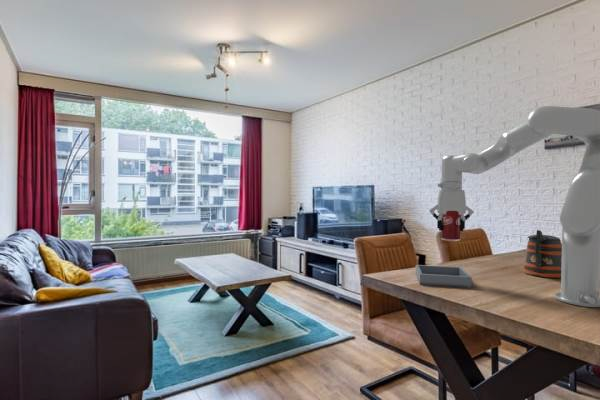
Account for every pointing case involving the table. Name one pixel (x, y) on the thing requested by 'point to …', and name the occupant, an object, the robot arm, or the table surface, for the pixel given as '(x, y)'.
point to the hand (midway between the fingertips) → (450, 230)
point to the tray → (443, 276)
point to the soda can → (451, 226)
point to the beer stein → (543, 256)
